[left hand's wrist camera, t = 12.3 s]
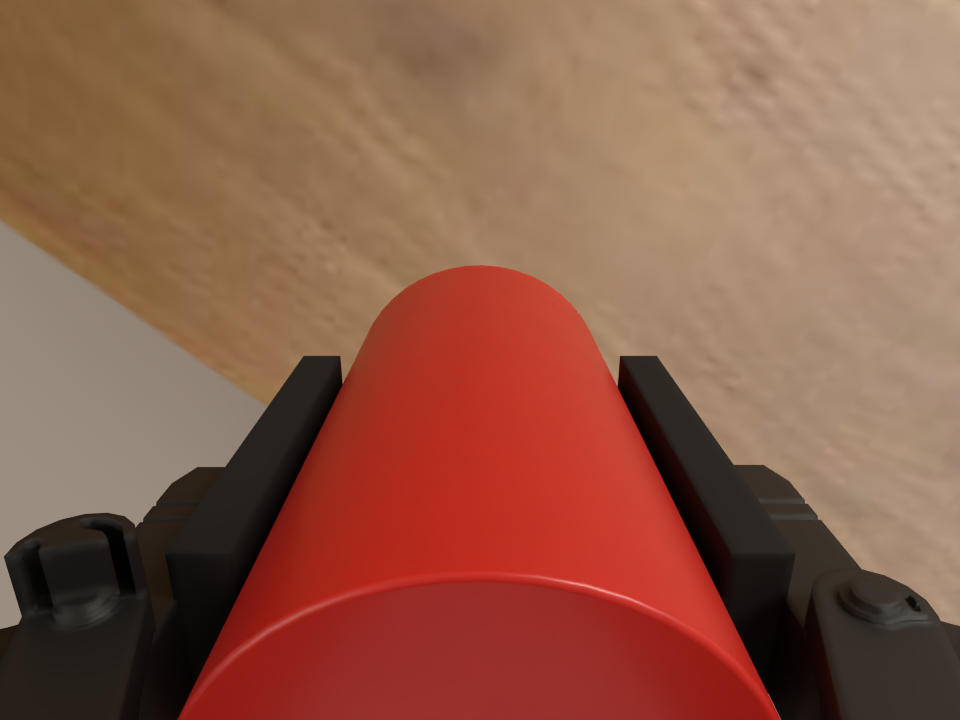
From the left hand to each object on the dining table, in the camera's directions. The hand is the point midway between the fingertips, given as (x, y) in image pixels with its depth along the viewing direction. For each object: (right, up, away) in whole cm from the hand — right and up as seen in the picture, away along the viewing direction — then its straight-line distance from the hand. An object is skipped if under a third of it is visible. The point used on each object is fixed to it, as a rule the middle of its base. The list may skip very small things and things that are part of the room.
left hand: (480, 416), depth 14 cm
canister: (0, +1, +2) cm, 2 cm away
